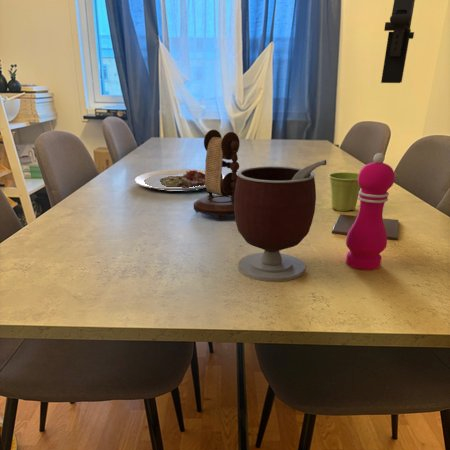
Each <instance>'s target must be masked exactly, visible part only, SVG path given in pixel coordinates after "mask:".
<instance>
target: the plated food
mask: <svg viewBox="0 0 450 450" xmlns="http://www.w3.org/2000/svg"><path fill="white" fill-rule="evenodd" d="M178 174H183V176H168V177H164V178H161V179H159V180H160V182H161V184H162V185H164V186H166V187H182V188H158V187H152V186H149V185H147V184H145V182H144V180H145V179H147V178H149V177H152V176H157V175H178ZM225 176H226V175H225V174H223V173H222V177H223V179H224V177H225ZM134 182H135V183H136V185H139V186H140V187H145V188H149V189H151V188H155V189H164V190H196V189H203V188H206V186H204V185H205V169H190V168H189V169H188V168H183V169H178V168H177V169H163V170H156V171H155V170H154V171H149V172H147V173H146V172H145V173H142V174H139V175H138V176H136V177H135V178H134ZM199 185H200V186H199ZM193 186H194V187H195V186H197V187H195V188H189V187H193ZM198 186H199V187H198ZM203 190H204V189H203ZM196 191H197V190H196Z"/></svg>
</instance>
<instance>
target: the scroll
mask: <svg viewBox="0 0 450 450" xmlns="http://www.w3.org/2000/svg"><path fill="white" fill-rule="evenodd" d="M240 143H241V141H240V138H239V136H238V134H237V133H235V132H234V131H228V132H227V133H225V134H224V135H223V136H222V134H221V133H220V131H218V130H216V129H209V131H208V132H206V134H205V136H204V139H203V146H204V150H205V151H206V153H205V154H206V155H205V167H204V168H205V169H204V170H205V186H206V189H205V190H206V191H207V195H205V196H202V197H199V198H198V199H197V200H194V201H193V210H194V211H195V213H200V214H203V215H207V216H208V215H209V216H217V220H218V221H222V219H223V216H235V213H234V193H235V187H236V181H237V177H238V172H239V169H240V163H239V162H238V160H239V158H238V153H239V149H240ZM230 161H231V162H230ZM223 168H227V169H230V171H231V172H228V173H226V175H225V177H224V179H223V177H222V174H223V173H222V172H223Z"/></svg>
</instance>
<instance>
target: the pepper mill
mask: <svg viewBox="0 0 450 450" xmlns="http://www.w3.org/2000/svg"><path fill="white" fill-rule="evenodd" d="M385 158H386V157H385V155H384V154H383V153H382V152H378V153H376V154H375V155H374V156H373V159H372V160H373V162H370V163H367V164H364V166H363V167H362V168H360V170H359V173H358V174H359V175H358V184H359V186H360V187H361V189H360V191H359V196H358V200H359V210H358V214H357V215H356V216H357V219H356V220H355V222H354V224H353V225H352V227H351V228H350V230H349V232H348V234H347V235H346V238H345V245H346V247H347V248H348V250H349V251H347V253H346V257H345V263H346V265H348V266H349V267H350V268H353V269H356V270H357V269H358V270H364V271H365V270H366V271H370V270H371V271H372V270H376V269H378V268H379V267H380V266H381V264H382V259H383V258H382V255H381V253H382V252H383V251H384V250H385V249H386V248H387V244H388V239H387V234H386V230H385V227H384V223H383V218H384V217H383V215H384V214H383V212H384V206H385V203H386V202H388V201H389V198H388V196H389V195H390V193H389V192H388V191H389V189H391V188H392V187H393V185H394V183H395V172H394V169H393V168H392V166H390V165H389V164H388V163H385Z"/></svg>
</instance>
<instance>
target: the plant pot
mask: <svg viewBox="0 0 450 450" xmlns="http://www.w3.org/2000/svg"><path fill="white" fill-rule="evenodd" d="M358 175H359V173H358V172H349V171H340V172H339V171H338V172H331V173H329V174H328V178H329V182H330V192H331V193H330V194H331V197H330V198H331V209H333V210H334V209H335V211H340V212H349V211H354V210H355V209H356V208H357V207H356V206H357V203H358V200H359V199H358V196H359V191H360V190H361V187H360V186H359V184H358Z"/></svg>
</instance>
